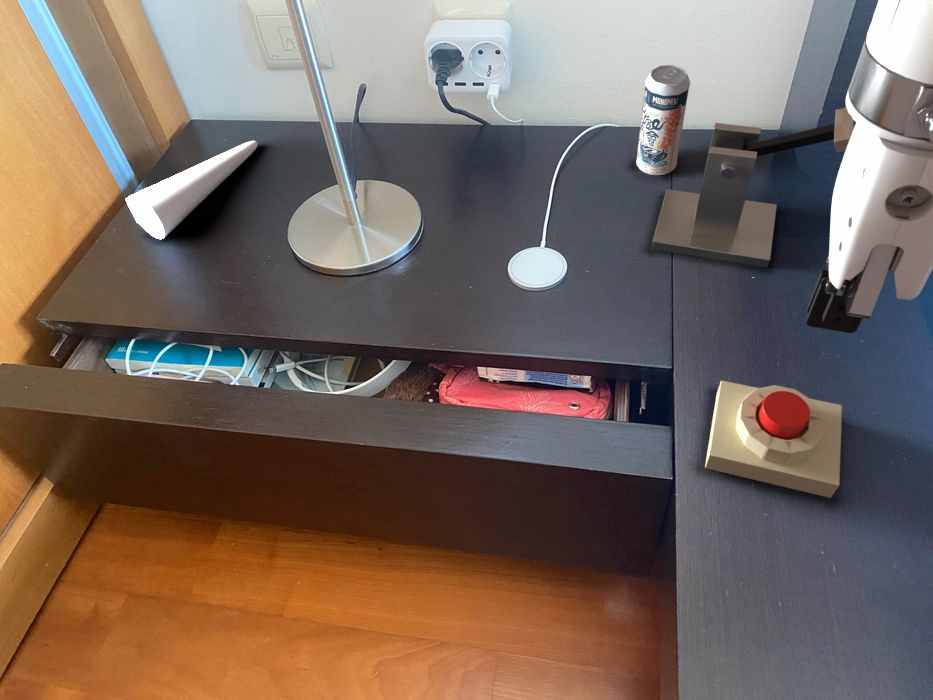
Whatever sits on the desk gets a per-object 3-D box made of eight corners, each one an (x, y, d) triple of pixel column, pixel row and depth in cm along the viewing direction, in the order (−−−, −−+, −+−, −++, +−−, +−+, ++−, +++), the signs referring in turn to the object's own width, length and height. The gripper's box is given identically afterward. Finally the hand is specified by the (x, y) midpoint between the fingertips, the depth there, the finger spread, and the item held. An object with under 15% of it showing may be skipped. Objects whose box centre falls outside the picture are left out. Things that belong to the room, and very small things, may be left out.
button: (805, 408, 60) (811, 395, 59) (802, 443, 58) (809, 432, 57) (760, 398, 61) (764, 386, 60) (756, 433, 59) (761, 421, 58)
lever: (854, 122, 68) (850, 100, 66) (853, 154, 65) (849, 132, 63) (723, 153, 74) (717, 133, 73) (717, 183, 72) (710, 163, 70)
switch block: (834, 419, 63) (848, 392, 60) (831, 498, 59) (846, 474, 56) (716, 394, 66) (725, 367, 63) (704, 468, 61) (713, 443, 58)
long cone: (290, 171, 96) (171, 245, 85) (259, 160, 99) (140, 230, 89) (278, 130, 92) (151, 203, 81) (246, 121, 95) (120, 189, 85)
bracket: (774, 212, 80) (803, 120, 71) (767, 268, 75) (797, 176, 66) (665, 197, 84) (679, 106, 74) (651, 249, 78) (665, 159, 69)
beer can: (628, 170, 87) (638, 79, 78) (647, 149, 89) (659, 58, 80) (664, 183, 85) (678, 91, 76) (683, 161, 87) (699, 69, 78)
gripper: (1041, 183, 31) (891, 418, 45) (1003, 14, 40) (887, 257, 54) (852, 163, 33) (765, 394, 47) (854, 7, 42) (780, 242, 56)
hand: (830, 320), depth 51 cm, fingers closed
